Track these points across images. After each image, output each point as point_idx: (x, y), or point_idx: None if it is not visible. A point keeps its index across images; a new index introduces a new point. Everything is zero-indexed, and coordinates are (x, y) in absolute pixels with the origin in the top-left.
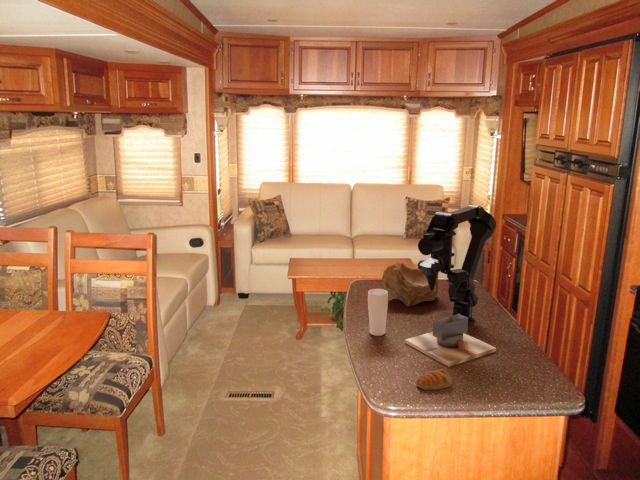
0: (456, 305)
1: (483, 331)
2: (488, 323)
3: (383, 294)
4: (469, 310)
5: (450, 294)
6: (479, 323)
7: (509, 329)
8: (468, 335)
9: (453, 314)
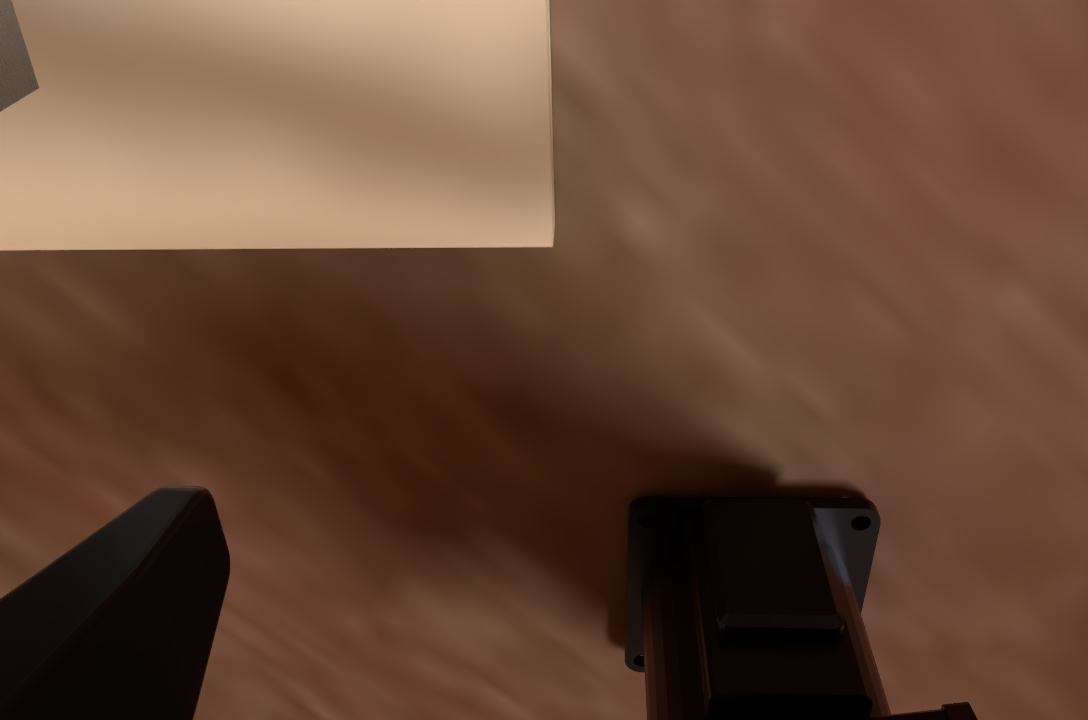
0: (800, 675)
1: (313, 516)
2: (476, 683)
3: None
4: (647, 710)
5: (21, 587)
6: (526, 625)
7: (251, 717)
8: (150, 240)
9: (805, 538)
